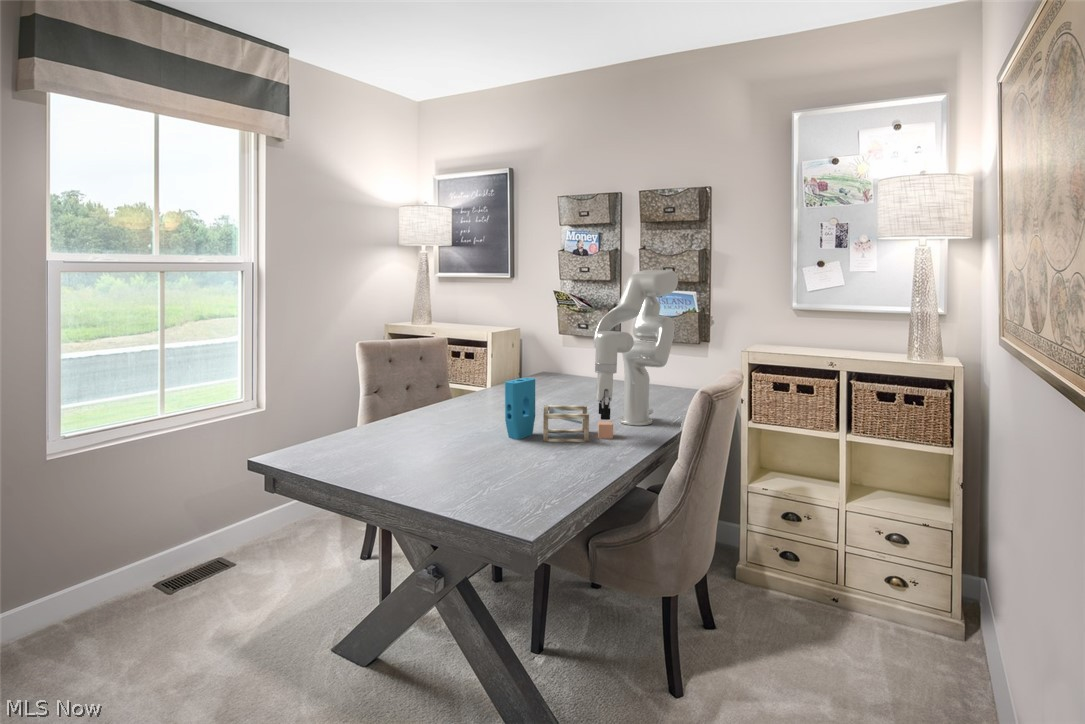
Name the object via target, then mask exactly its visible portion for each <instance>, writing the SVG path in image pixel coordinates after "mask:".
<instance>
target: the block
mask: <svg viewBox="0 0 1085 724" xmlns="http://www.w3.org/2000/svg"><path fill="white" fill-rule="evenodd" d="M504 421H505V426H506V430H507V432H506V433H507V436H508V438H509V439H514V440H522V439H525V438H527V437H530V436H533V433H534V427H535V421H536V378H532V377H522V378H515V379H511V380H506V381H504Z"/></svg>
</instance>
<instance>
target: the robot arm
mask: <svg viewBox="0 0 1085 724" xmlns="http://www.w3.org/2000/svg"><path fill="white" fill-rule="evenodd" d="M678 284H679V276H678V274H677V273H676V272H675V271H674V270H671V269H645V270H644V269H643V270H639V271H637V272H636V273H634V274H631V275H630V276H629V277H628V279H627V281H626V283H625V287H624V288H623V291H622V293H621V297H620V300H619V301H618V304H617V306H615V307H613V308H612V309H610V311H608V312H607V313H606V314H605V315H604V316H603V317H602V318H601V319H600V321H598V325H597V326H596V330H595V333H594V336H593V346H594V349H595V363H594V372H595V373H596V374H597V377H596V391H595V392H596V395H595V397H596V398H595V399H596V401H598V414H599V415H600V421H609V420H611V402H612V400H613V387H614V374H617V373H618V372H617V370H618V368H617V367H618V366H617V365H618V354H619V353H620V354H622V361H623V369H624V380H623V382H624V384H623V385H624V386H623V388H624V389H623V390H624V391H623V392H624V393H623V416H621V417H619V422H620V423H621V424H624V425H627V426H637V427H638V426H639V427H640V426H648V425H651V424H653V419H652V417H650V415H652V414H654V409H652V408H650V381H651V380H650V376H649V372H648V370H647V369H646V367H649V368H663V367H665V366H666V365H667V362H668V360H669V357H670V353H671V349H672V344H673V342H674V338H675V337H674V336H675V333H676V332H675V330H676V329H675V328H676V327H675V322H674V320H673V319H672V318H671V317H669V316H665V315H660V312H661V309H662V308H661V307H662V306H661V304H660V301H659V299H658V298H660V297H664V296H667V295H669V294H672V293H674V292H675V291H676V289H677V287H678ZM633 319H634V322H633V326H632V334H631V333H629V332H627V331H617V330H612V329H613V328H614V327H615V326H618V325H619V324H621V323H625V322H629V321H630V320H633ZM632 335H633V336H632ZM634 338H636V339H637V340H634ZM649 408H650V409H649Z"/></svg>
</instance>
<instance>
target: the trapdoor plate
mask: <svg viewBox="0 0 1085 724" xmlns="http://www.w3.org/2000/svg"><path fill="white" fill-rule="evenodd" d="M548 414H576V413H574V412H570V411H562V410H558V409H553V407H551V408H550V409H549V410H548ZM561 420H563V421H567V422H571V423H576V424H582V419H561Z"/></svg>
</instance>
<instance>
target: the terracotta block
mask: <svg viewBox="0 0 1085 724" xmlns="http://www.w3.org/2000/svg"><path fill="white" fill-rule="evenodd" d="M597 437H598V439H613V438H614V424H613V421H609V420H599V421H597Z"/></svg>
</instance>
